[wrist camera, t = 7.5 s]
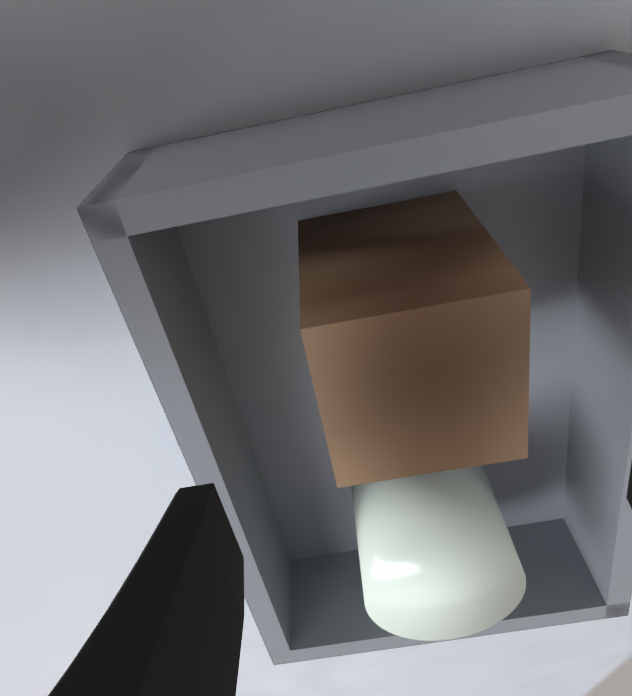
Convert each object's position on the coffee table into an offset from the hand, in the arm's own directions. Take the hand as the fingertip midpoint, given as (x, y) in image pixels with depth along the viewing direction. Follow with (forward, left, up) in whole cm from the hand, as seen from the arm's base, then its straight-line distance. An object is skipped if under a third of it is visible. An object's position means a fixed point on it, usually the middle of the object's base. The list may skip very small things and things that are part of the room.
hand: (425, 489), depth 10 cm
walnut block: (+1, 0, -9) cm, 9 cm away
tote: (+1, -4, -9) cm, 10 cm away
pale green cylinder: (+1, -9, -9) cm, 12 cm away
